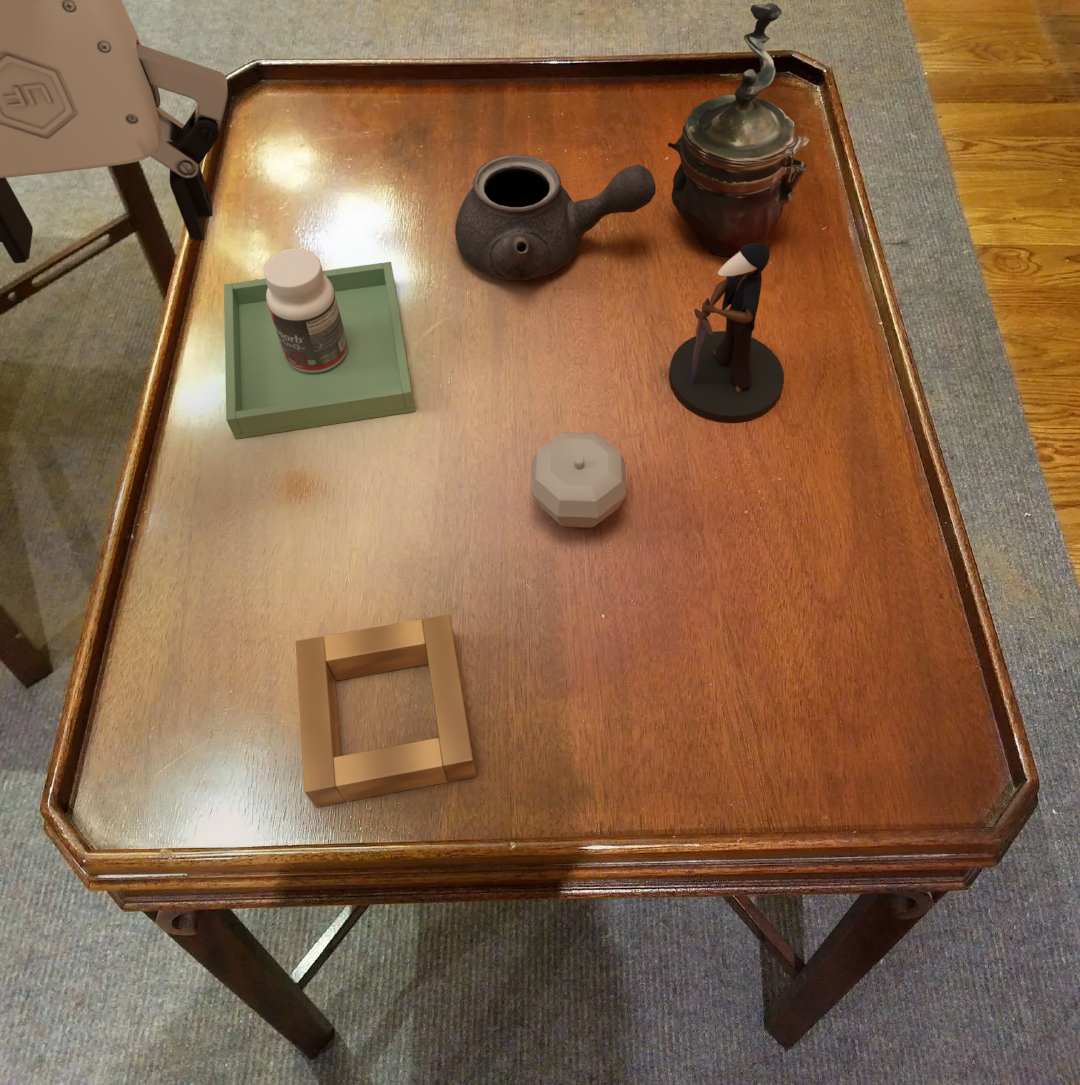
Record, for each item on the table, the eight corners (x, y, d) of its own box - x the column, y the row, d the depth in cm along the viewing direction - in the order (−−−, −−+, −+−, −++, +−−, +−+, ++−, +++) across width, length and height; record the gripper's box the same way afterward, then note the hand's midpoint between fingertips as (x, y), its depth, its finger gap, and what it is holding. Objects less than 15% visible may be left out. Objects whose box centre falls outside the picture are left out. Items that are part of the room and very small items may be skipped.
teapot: (456, 314, 86) (446, 227, 78) (456, 207, 95) (448, 118, 86) (655, 307, 87) (666, 220, 78) (638, 202, 95) (647, 112, 86)
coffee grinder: (779, 176, 97) (822, 1, 82) (787, 272, 89) (836, 98, 74) (659, 170, 98) (680, -5, 82) (656, 265, 90) (679, 91, 75)
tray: (235, 439, 79) (226, 419, 76) (231, 305, 87) (223, 284, 85) (415, 411, 80) (411, 391, 78) (394, 282, 89) (390, 261, 87)
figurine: (650, 354, 83) (669, 218, 71) (750, 326, 85) (785, 189, 73) (698, 435, 78) (727, 304, 66) (802, 404, 80) (850, 271, 68)
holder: (315, 807, 62) (304, 792, 59) (306, 661, 67) (295, 640, 64) (476, 776, 63) (473, 760, 60) (453, 635, 68) (449, 613, 66)
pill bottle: (272, 353, 83) (241, 267, 75) (320, 320, 85) (296, 233, 77) (313, 385, 81) (286, 301, 72) (361, 351, 83) (341, 265, 75)
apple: (640, 488, 76) (647, 438, 70) (603, 562, 72) (608, 516, 66) (552, 456, 77) (552, 405, 72) (511, 527, 74) (508, 479, 68)
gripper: (-296, -39, 35) (-56, 301, 49) (167, -78, 37) (268, 259, 52) (-247, -125, 39) (-38, 213, 53) (168, -156, 41) (262, 178, 55)
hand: (112, 236), depth 52 cm, fingers open, 9 cm apart
